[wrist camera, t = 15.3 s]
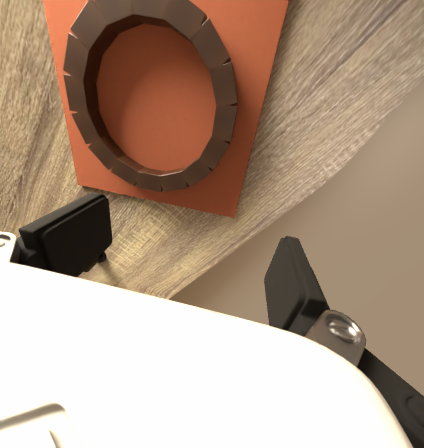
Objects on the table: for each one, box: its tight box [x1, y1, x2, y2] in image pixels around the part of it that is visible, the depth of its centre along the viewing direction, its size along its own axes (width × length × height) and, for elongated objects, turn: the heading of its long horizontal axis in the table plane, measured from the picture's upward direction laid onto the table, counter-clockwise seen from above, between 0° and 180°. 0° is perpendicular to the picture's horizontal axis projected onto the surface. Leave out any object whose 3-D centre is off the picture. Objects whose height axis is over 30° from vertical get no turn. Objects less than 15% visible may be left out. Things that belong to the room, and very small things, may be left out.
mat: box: [43, 0, 289, 218], centre depth 26 cm, size 26×26×1 cm
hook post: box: [84, 252, 106, 272], centre depth 39 cm, size 4×4×4 cm
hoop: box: [63, 0, 238, 192], centre depth 24 cm, size 20×20×2 cm
